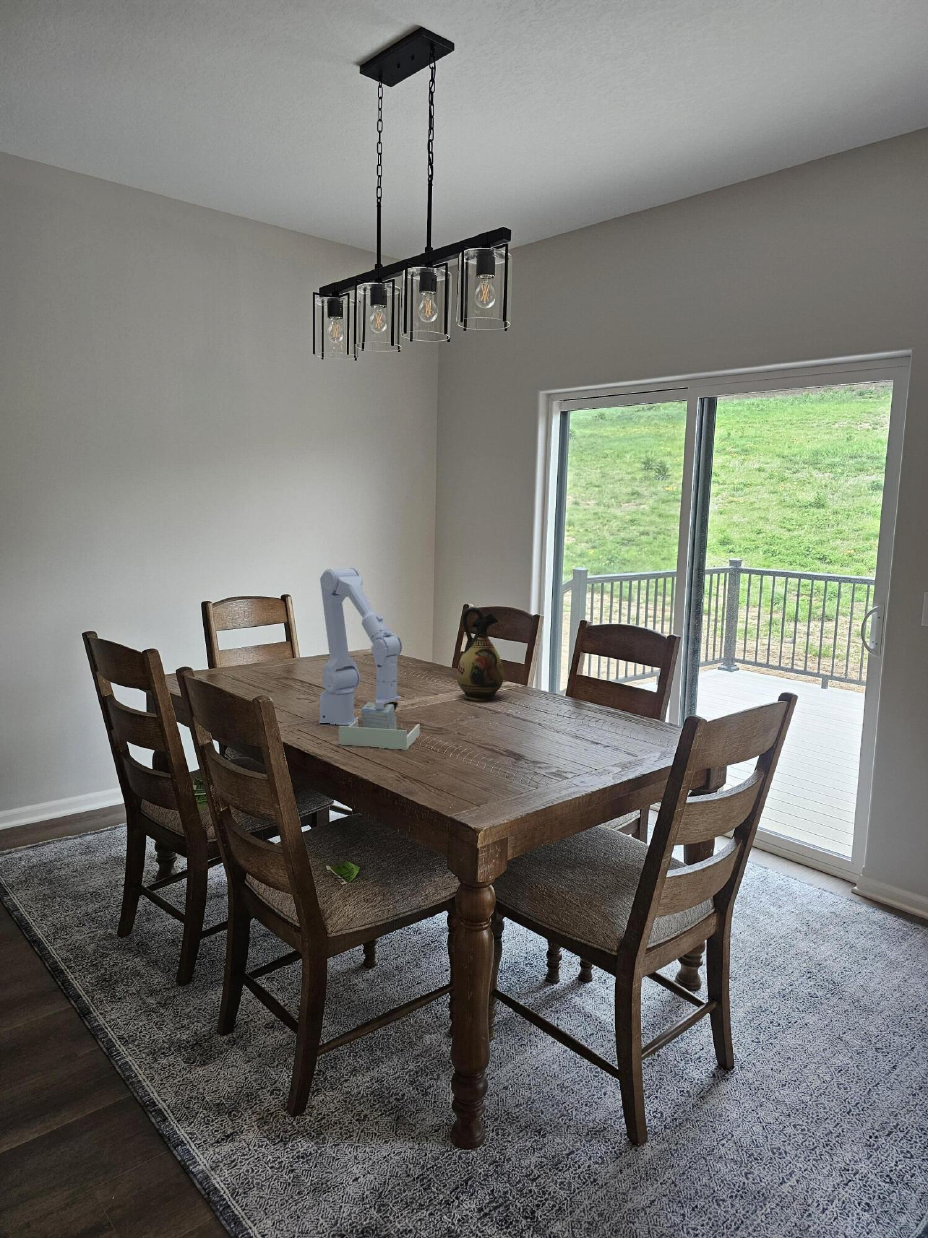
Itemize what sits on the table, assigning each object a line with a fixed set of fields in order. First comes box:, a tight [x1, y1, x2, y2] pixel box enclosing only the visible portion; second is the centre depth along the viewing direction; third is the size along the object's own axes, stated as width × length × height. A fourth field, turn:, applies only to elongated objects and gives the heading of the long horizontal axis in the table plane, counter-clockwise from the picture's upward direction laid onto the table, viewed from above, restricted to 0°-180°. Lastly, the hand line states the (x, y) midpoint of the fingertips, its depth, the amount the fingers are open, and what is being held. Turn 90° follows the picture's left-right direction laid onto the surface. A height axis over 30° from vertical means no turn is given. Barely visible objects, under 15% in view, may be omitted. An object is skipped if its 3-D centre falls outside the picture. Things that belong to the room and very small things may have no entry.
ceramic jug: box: [456, 606, 505, 703], centre depth 265 cm, size 17×15×30 cm
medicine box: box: [360, 701, 398, 730], centre depth 217 cm, size 8×4×9 cm, turn 70°
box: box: [338, 719, 421, 751], centre depth 216 cm, size 18×15×5 cm
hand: (386, 729), depth 221 cm, fingers closed
